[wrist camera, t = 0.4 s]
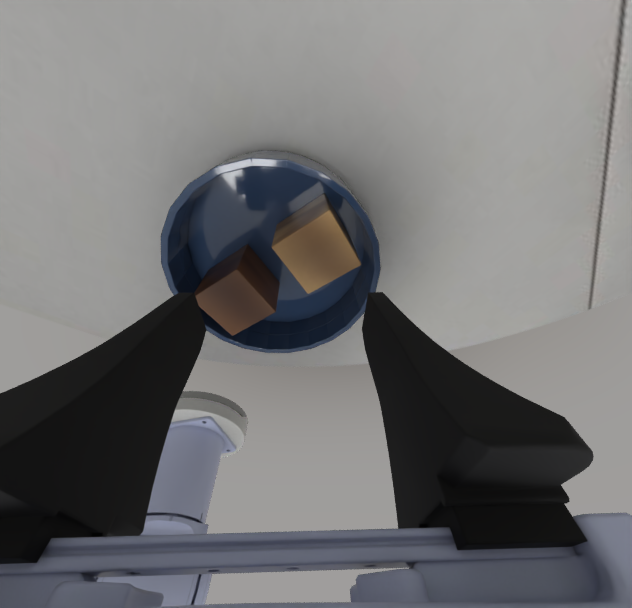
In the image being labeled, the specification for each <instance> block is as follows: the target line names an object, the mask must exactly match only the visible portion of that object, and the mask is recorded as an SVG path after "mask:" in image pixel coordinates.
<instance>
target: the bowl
mask: <svg viewBox="0 0 632 608" xmlns="http://www.w3.org/2000/svg"><path fill="white" fill-rule="evenodd" d="M324 193H325V194H326V196H327V198H328V199H329V201H330V203H331V205H332V206H333V208H334V210H335V212H336V214H337V215H338V217H339V219H340V221H341V222H342V224H343V226H344V228H345V229H346V231H347V233H348V235H349V236H350V238H351V240H352V242H353V245H354V247H355V250H356V252H357V255H358V257H359V259H360V262H361V265H360V266H358V267H357V268H355V269H353V270H351V271H349V272H347V273H346V274H344V275H342V276H340V277H338V278H337V279H335V280H333V281H331V282H329V283H327V284H326V285H324V286H322V287H320V288H318V289H317V290H315V291H313V292H311V293H309V294H308V293H307V292H306V291H305V290H304V288H303V287H302V286H301V285H300V283H299V282H298V281H297V279H296V278H295V277H294V276H293V274H292V273H291V272H290V271H289V269H288V268H287V267H286V265H285V264H284V263H283V262H282V260H281V259H280V258H279V256H278V255H277V254H276V253H275V251H274V250H273V249H272V243H273V239H274V234H275V230H276V226H277V224H278V223H280V222H281V221H283V220H284V219H286V218H287V217H289V216H290V215H292V214H293V213H295V212H296V211H298V210H299V209H301V208H302V207H304V206H305V205H307V204H308V203H310V202H312V201H313V200H315V199H316V198H318V197H319V196H321V195H322V194H324ZM247 244H248V245H249V246H250V247H251V249H252V250H253V251H254V252H255V253H256V255H257V256H258V257H259V258H260V259H261V261H262V262H263V263H264V264H265V265H266V267H267V268H268V269H269V270H270V271H271V273H272V274H273V275H274V276H275V277H276V279H277V280H278V281H279V282H280V285H279V293H278V300H277V308H276V312H275V313H273V314H271V315H270V316H268V317H266V318H264V319H262V320H260V321H259V322H257V323H255V324H253V325H251V326H250V327H248V328H246V329H244V330H242V331H240V332H239V333H237V334H235V335H233V336H232V335H231V334H230V333H229V332H228V331H226V330H225V329H224V328H223V327H222V326H221V325H220V324H219V323H217V322H216V321H215V320H214V319H213V318H212V317H211V316H210V315H208V314H207V313H206V312H205V311H204V310H203V309H202V308H201V307H199V308H200V311H201V315H202V318H203V321H204V324H205V327H206V330H207V331H208V332H210V333H212V334H213V335H215V336H216V337H218V338H220V339H222V340H223V341H226V342H229V343H231V344H234V345H236V346H239V347H241V348H244V349H250V350H255V351H260V352H265V353H266V352H267V353H291V352H296V351H302V350H307V349H312V348H314V347H317V346H319V345H322V344H324V343H327V342H329V341H332V340H333V339H335V338H336V337H338V336H339V335H341V334H342V333H344V332H345V331H347V330H348V329H349V328H351V326H352V325H353V324H354V323H355V322H356V321H357V320H358V319H359V318H360V317H361V316H362V315H363V314H364V312H365V308H366V302H367V296H368V292H376V287H377V283H378V278H379V274H380V268H381V267H380V253H379V243H378V240H377V237H376V235H375V232H374V229H373V227H372V224H371V222H370V219H369V217H368V215H367V214H366V212H365V211H364V209H363V208H362V206H361V205H360V203H359V202H358V200H357V199H356V198H355V196H354V195H353V194H352V192H351V191H350V190H349V188H348V187H347V186H346V185H345V183H344V182H343V181H342V180H341V179H340V178H339V177H337V176H336V175H335V174H334V173H332V172H331V171H330V170H329V169H327V168H326V167H324V166H322V165H321V164H320V163H318V162H316V161H313V160H311V159H309V158H307V157H304V156H301V155H297V154H294V153H290V152H283V151H276V150H275V151H256V152H251V153H246V154H243V155H240V156H236V157H232V158H230V159H228V160H226V161H225V162H223V163H221V164H219V165H218V166H216V167H214V168H213V169H211V170H210V171H208V172H206V173H205V174H203V175H202V176H200V177H199V178H197V179H195V180H194V181H192V182H191V183H189V184H188V185H187V187H186V188H185V189H184V190H183V192H182V193H181V194H180V196H179V197H178V198H177V199H176V201H175V202H174V203H173V205H172V206H171V207H170V209H169V212H168V215H167V218H166V221H165V224H164V227H163V230H162V233H161V264H162V267H163V270H164V273H165V276H166V279H167V283H168V286H169V288H170V290H171V291H172V293H173V295H176V294H178V293H195V291H196V289H197V288H198V286H199V284H200V283H201V281H202V280H203V278H204V276H205V275H206V273H207V271H208V270H209V269H211V268H212V267H214V266H215V265H217V264H218V263H220V262H221V261H223V260H224V259H226V258H227V257H229V256H230V255H232V254H233V253H235V252H236V251H238V250H239V249H241V248H242V247H244V246H245V245H247Z"/></svg>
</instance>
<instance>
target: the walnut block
mask: <svg viewBox="0 0 632 608" xmlns="http://www.w3.org/2000/svg"><path fill="white" fill-rule="evenodd" d="M279 285H280V282H279V281H278V280H277V279H276V277H275V276H274V275H273V274H272V273H271V271H270V270H269V269H268V268H267V267H266V265H265V264H264V263H263V262H262V261H261V259H260V258H259V257H258V256H257V255H256V253H255V252H254V251H253V250H252V249H251V247H250V246H249V245H248V244H247V245H245V246H244V247H242V248H241V249H239V250H238V251H236V252H235V253H233V254H232V255H230V256H229V257H227V258H226V259H224V260H223V261H221V262H220V263H218V264H217V265H215V266H214V267H212V268H211V269H209V270H208V271H207V273H206V275H205V276H204V278H203V280H202V281H201V283H200V284H199V286H198V288H197V289H196V291H195V296H196V299H197V302H198V305H199V307H201V308H202V309H203V310H204V311H205V312H206V313H207V314H208V315H210V316H211V317H212V318H213V319H214V320H215V321H216V322H217V323H219V324H220V325H221V326H222V327H223V328H224V329H225V330H226V331H228V332H229V333H230V334H231V335H232V336H233V335H235V334H237V333H239V332H240V331H242V330H244V329H246V328H248V327H250V326H251V325H253V324H255V323H257V322H259V321H260V320H262V319H264V318H266V317H268V316H270V315H271V314H273V313H275V312H276V308H277V300H278V293H279Z"/></svg>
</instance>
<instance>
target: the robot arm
mask: <svg viewBox="0 0 632 608" xmlns="http://www.w3.org/2000/svg"><path fill="white" fill-rule="evenodd" d="M205 332H206V327H205V324H204V321H203V318H202V315H201V311H200V308H199V305H198V302H197V299H196V296H195V293H178V294H176V295H174V296H173V297H171V298H170V299H168V300H167V301H166V302H164V303H163V304H161V305H160V306H158V307H157V308H156V309H154V310H153V311H151V312H150V313H148V314H147V315H146V316H144V317H143V318H141V319H140V320H138V321H137V322H136V323H134V324H132V325H131V326H129V327H128V328H126V329H125V330H123V331H122V332H120V333H119V334H117V335H115V336H114V337H112V338H111V339H109V340H108V341H106V342H104V343H103V344H101V345H99V346H98V347H96V348H94V349H92V350H90V351H89V352H87V353H85V354H83V355H81V356H80V357H78V358H76V359H74V360H72V361H70V362H68V363H66V364H64V365H62V366H60V367H58V368H56V369H54V370H52V371H50V372H48V373H45V374H43V375H41V376H39V377H37V378H35V379H33V380H31V381H29V382H26V383H24V384H22V385H19V386H17V387H15V388H12V389H10V390H8V391H6V392H3V393H0V608H632V516H631V515H630V514H628V513H601V514H582V515H577V516H573V517H572V515H571V514H570V513H569V511H568V509H567V508H566V506H565V505H564V503H567V502H569V497H568V496H567V494H566V492H565V491H564V489H563V488H562V486H561V484H563V483H564V482H566V481H567V480H569V479H571V478H572V477H574V476H575V475H577V474H579V473H580V472H582V471H583V470H585V469H586V468H587V467H588V466H589V465H590V464H591V462H592V461H593V452H592V450H591V449H590V448H589V447H588V445H587V444H586V443H585V442H584V441H583V439H582V438H581V437H580V436H579V434H578V433H577V432H576V431H575V429H574V428H573V427H572V426H571V425H570V423H569V422H568V421H567V420H566V419H565V417H563V416H561V415H559V414H556V413H554V412H552V411H550V410H548V409H546V408H544V407H542V406H540V405H538V404H536V403H533V402H531V401H529V400H527V399H525V398H523V397H521V396H519V395H517V394H516V393H514V392H512V391H510V390H508V389H506V388H504V387H503V386H501V385H499V384H497V383H495V382H494V381H492V380H490V379H489V378H487V377H485V376H483V375H482V374H480V373H479V372H477V371H475V370H474V369H472V368H471V367H469V366H468V365H466V364H464V363H463V362H461V361H460V360H458V359H457V358H455V357H454V356H453V355H451V354H450V353H449V352H447V351H446V350H445V349H443V348H442V347H441V346H439V345H438V344H437V343H435V342H434V341H433V340H432V339H431V338H429V337H428V336H427V335H426V334H425V333H424V332H422V331H421V330H420V329H419V328H418V327H417V326H416V325H415V324H414V323H413V322H411V321H410V320H409V319H408V318H407V317H406V316H405V315H404V314H403V313H402V312H401V311H400V310H399V309H398V308H397V307H396V306H395V305H394V304H393V303H392V302H391V300H390V299H389V298H388V297H387V296H386V295H385V294H384V293H383V292H368V296H367V302H366V308H365V314H364V320H363V326H362V332H363V339H364V345H365V350H366V354H367V358H368V361H369V365H370V368H371V372H372V375H373V379H374V382H375V386H376V389H377V393H378V396H379V401H380V405H381V410H382V416H383V422H384V427H385V433H386V439H387V446H388V451H389V458H390V466H391V473H392V480H393V487H394V495H395V503H396V511H397V520H398V529H368V530H332V531H298V532H296V531H295V532H258V533H223V534H207V529H208V524H205V521H206V517H207V513H208V508H209V504H210V499H211V496H212V492H213V487H214V483H215V479H216V475H217V471H218V466H219V462H220V458H221V454H222V453H228V452H234V451H236V446H235V445H234V444H233V442H232V441H231V440H230V439H229V437H228V436H227V435H226V434H225V432H224V431H223V430H222V429H221V427H220V426H219V425H218V424H217V422H216V421H215V420H214V419H213V418H212V417H210V416H206V417H200V418H194V419H188V420H182V421H176V422H171V421H172V418H173V415H174V411H175V408H176V406H177V403H178V401H179V398H180V396H181V394H182V391H183V389H184V387H185V385H186V382H187V380H188V378H189V376H190V373H191V371H192V369H193V367H194V364H195V362H196V360H197V357H198V355H199V353H200V350H201V347H202V344H203V340H204V336H205ZM406 567H407V568H409V569H397V570H389V571H382V572H375V573H368V574H362V575H358V577H357V579H356V585H354V586H352V587H351V589H350V595H351V602H347V603H346V602H345V603H344V602H343V603H342V602H341V603H340V602H338V603H244V604H243V603H242V604H209V605H204V604H205V601H206V598H207V594H208V590H209V586H210V581H211V576H212V574H220V573H253V572H284V571H312V570H313V571H315V570H345V569H346V570H347V569H377V568H378V569H379V568H406Z"/></svg>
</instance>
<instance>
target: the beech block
mask: <svg viewBox="0 0 632 608" xmlns="http://www.w3.org/2000/svg"><path fill="white" fill-rule="evenodd" d="M272 249H273V250H274V251H275V253H276V254H277V255H278V256H279V258H280V259H281V260H282V262H283V263H284V264H285V265H286V267H287V268H288V269H289V271H290V272H291V273H292V274H293V276H294V277H295V278H296V279H297V281H298V282H299V283H300V285H301V286H302V287H303V288H304V290H305V291H306V292H307V293H308V294H309V293H311V292H313V291H315V290H317V289H318V288H320V287H322V286H324V285H326V284H327V283H329V282H331V281H333V280H335V279H337V278H338V277H340V276H342V275H344V274H346V273H347V272H349V271H351V270H353V269H355V268H357V267H358V266H360V265H361V262H360V259H359V257H358V255H357V252H356V250H355V247H354V245H353V242H352V240H351V238H350V236H349V235H348V233H347V231H346V229H345V228H344V226H343V224H342V222H341V221H340V219H339V217H338V215H337V214H336V212H335V210H334V208H333V206H332V205H331V203H330V201H329V199H328V198H327V196H326V194H325V193H324V194H322V195H321V196H319V197H318V198H316V199H315V200H313V201H312V202H310V203H308V204H307V205H305V206H304V207H302V208H301V209H299V210H298V211H296V212H295V213H293V214H292V215H290V216H289V217H287V218H286V219H284V220H283V221H281V222H280V223H278V224H277V226H276V230H275V234H274V239H273V243H272Z"/></svg>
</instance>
